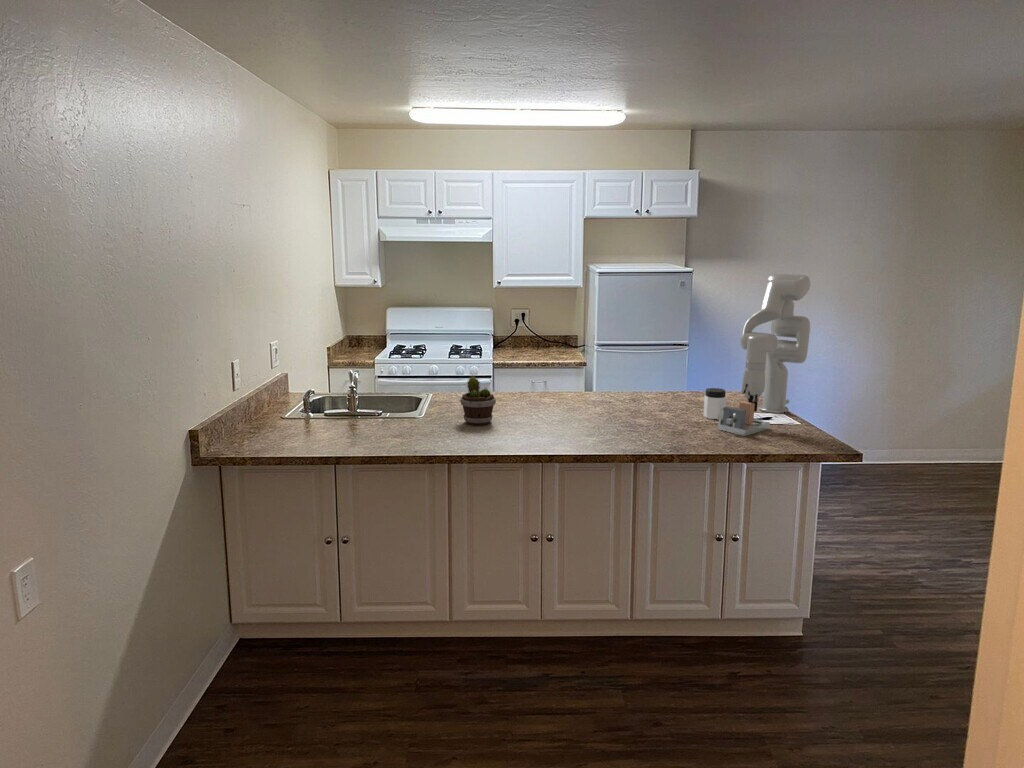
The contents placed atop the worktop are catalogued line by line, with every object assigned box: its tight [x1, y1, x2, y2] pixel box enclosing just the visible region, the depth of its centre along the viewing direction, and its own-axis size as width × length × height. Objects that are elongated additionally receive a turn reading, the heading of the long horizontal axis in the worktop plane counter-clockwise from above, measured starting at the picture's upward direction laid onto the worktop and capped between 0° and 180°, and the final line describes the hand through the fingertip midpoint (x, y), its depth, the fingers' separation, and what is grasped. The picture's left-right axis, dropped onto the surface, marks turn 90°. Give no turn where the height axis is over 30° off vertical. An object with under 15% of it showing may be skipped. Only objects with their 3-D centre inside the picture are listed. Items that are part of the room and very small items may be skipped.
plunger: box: [726, 401, 762, 424], centre depth 285 cm, size 15×8×8 cm, turn 130°
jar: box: [702, 387, 727, 421], centre depth 307 cm, size 9×8×12 cm
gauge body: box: [717, 405, 771, 437], centre depth 289 cm, size 18×12×10 cm, turn 130°
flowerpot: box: [459, 373, 497, 426], centre depth 296 cm, size 14×15×20 cm
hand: (752, 410), depth 292 cm, fingers closed
